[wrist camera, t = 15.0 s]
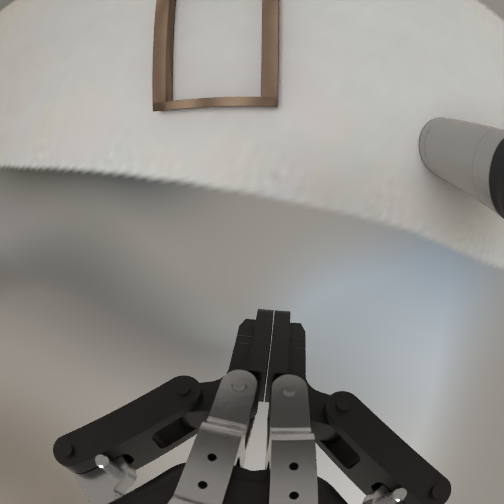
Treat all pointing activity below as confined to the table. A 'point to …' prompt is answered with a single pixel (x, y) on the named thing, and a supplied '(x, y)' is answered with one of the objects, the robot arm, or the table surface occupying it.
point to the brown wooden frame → (268, 97)
